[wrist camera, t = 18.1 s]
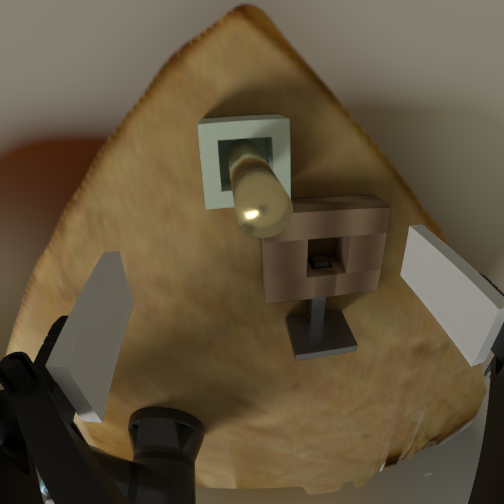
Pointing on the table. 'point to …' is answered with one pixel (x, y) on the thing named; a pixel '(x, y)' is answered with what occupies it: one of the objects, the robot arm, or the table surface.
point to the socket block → (340, 267)
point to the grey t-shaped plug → (319, 327)
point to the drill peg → (257, 192)
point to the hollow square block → (234, 128)
